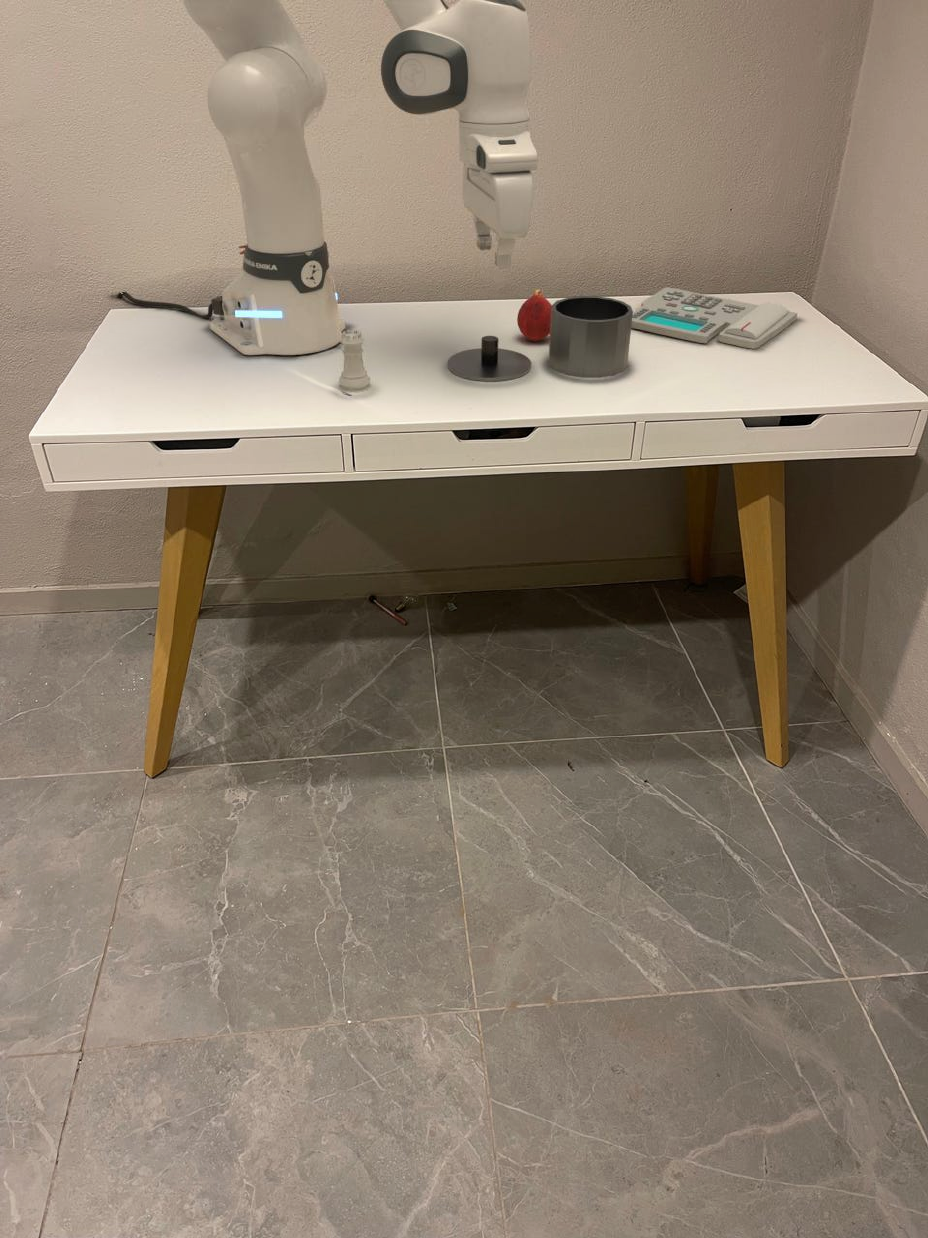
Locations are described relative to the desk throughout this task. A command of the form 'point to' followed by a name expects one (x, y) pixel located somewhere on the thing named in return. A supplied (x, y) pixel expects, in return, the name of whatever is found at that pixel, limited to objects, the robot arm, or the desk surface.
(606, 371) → the pot
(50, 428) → the desk surface
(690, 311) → the office telephone
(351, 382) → the rook chess piece
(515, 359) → the lid
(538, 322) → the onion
